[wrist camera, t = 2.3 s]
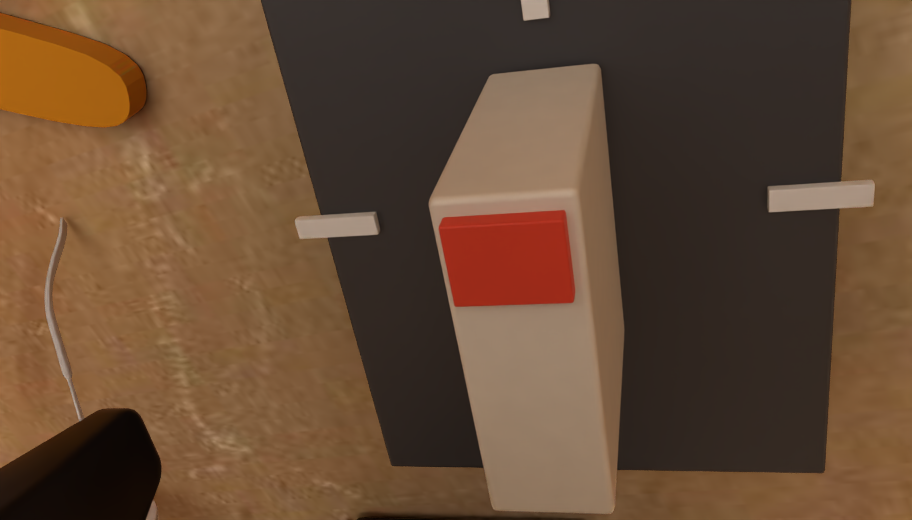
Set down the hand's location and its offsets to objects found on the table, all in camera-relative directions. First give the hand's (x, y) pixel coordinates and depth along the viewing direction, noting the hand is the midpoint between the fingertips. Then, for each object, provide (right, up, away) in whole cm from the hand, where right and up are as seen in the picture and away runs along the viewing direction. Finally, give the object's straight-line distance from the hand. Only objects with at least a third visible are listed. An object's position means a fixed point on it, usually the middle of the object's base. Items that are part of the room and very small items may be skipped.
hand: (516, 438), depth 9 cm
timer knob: (+1, +3, +4) cm, 5 cm away
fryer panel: (+2, +4, +7) cm, 8 cm away
